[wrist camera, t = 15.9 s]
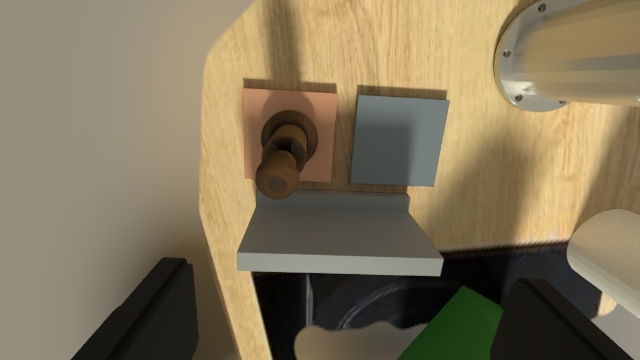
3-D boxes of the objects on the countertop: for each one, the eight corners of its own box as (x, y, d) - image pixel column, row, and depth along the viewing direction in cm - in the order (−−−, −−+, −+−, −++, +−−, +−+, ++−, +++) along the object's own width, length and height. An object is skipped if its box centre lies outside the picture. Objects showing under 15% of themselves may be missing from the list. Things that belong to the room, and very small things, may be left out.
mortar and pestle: (320, 113, 36) (333, 140, 19) (314, 165, 38) (320, 233, 21) (264, 106, 35) (224, 128, 18) (261, 159, 37) (222, 225, 20)
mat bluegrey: (446, 99, 37) (449, 100, 36) (430, 184, 40) (433, 186, 39) (357, 94, 36) (358, 95, 35) (349, 180, 40) (350, 183, 39)
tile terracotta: (336, 93, 36) (337, 93, 35) (330, 179, 39) (331, 182, 39) (244, 87, 35) (242, 88, 34) (246, 176, 39) (244, 178, 38)
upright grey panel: (406, 193, 40) (447, 240, 29) (400, 233, 42) (436, 292, 31) (258, 187, 39) (236, 233, 28) (258, 228, 41) (238, 287, 29)
